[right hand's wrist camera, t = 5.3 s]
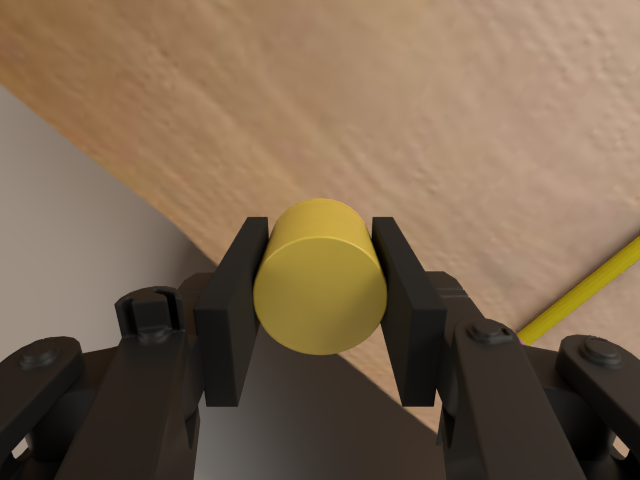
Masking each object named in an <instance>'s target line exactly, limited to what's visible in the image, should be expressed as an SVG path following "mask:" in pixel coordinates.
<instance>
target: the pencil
mask: <svg viewBox="0 0 640 480" xmlns="http://www.w3.org/2000/svg"><path fill="white" fill-rule="evenodd" d="M639 259H640V235H639V236H638V237H637V238H636V239H634V240H633V241H632V242H631V243H629V244H628V245H627V246H626V247H624V248H623V249H622V250H621V251H619V252H618V253H617V254H616V255H614V256H613V257H612V258H611V259H609V260H608V261H607V262H606V263H604V264H603V265H602V266H601V267H600V268H598V269H597V270H596V271H595V272H593V273H592V274H591V275H590V276H588V277H587V278H586V279H585V280H583V281H582V282H581V283H580V284H578V285H577V286H576V287H575V288H573V289H572V290H571V291H570V292H568V293H567V294H566V295H565V296H563V297H562V298H561V299H560V300H558V301H557V302H556V303H555V304H553V305H552V306H551V307H550V308H548V309H547V310H546V311H545V312H543V313H542V314H541V315H540V316H538V317H537V318H536V319H535V320H533V321H532V322H531V323H530V324H528V325H527V326H526V327H525V328H523V329H522V330H521V331H520V332H518V333H517V334H516V335H517V337H518V338H519V340H520V342H521V344H523V345H527V346H529V345H531V344H532V343H533V342H534V341H536V340H537V339H538V338H540V337H541V336H542V335H543V334H545V333H546V332H547V331H548V330H550V329H551V328H552V327H554V326H555V325H556V324H557V323H559V322H560V321H561V320H563V319H564V318H565V317H566V316H568V315H569V314H570V313H571V312H573V311H574V310H575V309H577V308H578V307H579V306H580V305H582V304H583V303H584V302H585V301H587V300H588V299H589V298H591V297H592V296H593V295H594V294H596V293H597V292H598V291H600V290H601V289H602V288H603V287H605V286H606V285H607V284H608V283H610V282H611V281H612V280H614V279H615V278H616V277H617V276H619V275H620V274H621V273H622V272H624V271H625V270H626V269H628V268H629V267H630V266H631V265H633V264H634V263H635V262H637V261H638V260H639Z"/></svg>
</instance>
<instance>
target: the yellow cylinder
mask: <svg viewBox="0 0 640 480" xmlns="http://www.w3.org/2000/svg"><path fill="white" fill-rule="evenodd" d="M387 299H388V288H387V283H386V279H385V276H384V273H383V271H382V268H381V265H380V262H379V259H378V257H377V254H376V251H375V248H374V245H373V243H372V240H371V237H370V234H369V232H368V229H367V226H366V225H365V223H364V221H363V220H362V218H361V217H360V216H359V215H358V214H357V213H356V212H355V211H354V210H353V209H351V208H350V207H348V206H347V205H345V204H343V203H341V202H338V201H335V200H331V199H310V200H306V201H302V202H300V203H297V204H295V205H294V206H292V207H290V208H289V209H288V210H286V211H285V212H284V213H283V214H282V215H281V216H280V218H279V219H278V220H277V222H276V224H275V225H274V227H273V230H272V233H271V235H270V238H269V241H268V244H267V246H266V249H265V252H264V255H263V258H262V260H261V263H260V266H259V269H258V272H257V274H256V277H255V280H254V285H253V305H254V310H255V312H256V315H257V318H258V319H259V321H260V323H261V325H262V326H263V328H264V329H265V330H266V331H267V332H268V334H269V335H270V336H271V337H273V338H274V339H275V340H276V341H277V342H279V343H281V344H282V345H284V346H286V347H288V348H290V349H292V350H295V351H298V352H302V353H306V354H313V355H327V354H334V353H339V352H342V351H345V350H348V349H350V348H353V347H355V346H357V345H358V344H360V343H361V342H363V341H364V340H365V339H367V338H368V337H369V336H370V335H371V334H372V333H373V332H374V331H375V329H376V328H377V327H378V325H379V324H380V322H381V320H382V318H383V316H384V313H385V311H386V307H387Z"/></svg>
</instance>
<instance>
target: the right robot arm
mask: <svg viewBox="0 0 640 480" xmlns="http://www.w3.org/2000/svg"><path fill="white" fill-rule="evenodd" d="M371 240H372V243H373V245H374V248H375V251H376V254H377V257H378V259H379V262H380V265H381V268H382V271H383V273H384V276H385V279H386V283H387V288H388V299H387V307H386V311H385V313H384V316H383V318H382V320H381V322H380V324H381V327H382V331H383V335H384V339H385V343H386V346H387V350H388V354H389V358H390V361H391V365H392V369H393V373H394V377H395V380H396V384H397V388H398V392H399V395H400V399H401V403H402V407H434V401H435V394H436V388H437V391H438V393H439V396H440V398H441V401H442V409H441V416H440V422H439V429H438V436H437V442H436V445H439V446H441V443H443V452H444V460H445V469H446V477H447V480H640V360H639V359H638V358H636V357H635V356H634V355H633V354H631V353H630V352H628V351H627V350H625V349H623V348H622V347H620V346H619V345H616V344H614V343H612V342H609V341H608V340H606V339H603V338H599V337H598V338H597V337H595V336H590V335H588V336H587V335H571V336H567V337H565V338H564V339H563V340H562V341H561V344H560V348H559V351H558V352H556V351H551V350H546V349H541V348H536V347H531V346H527V345H523V344H521V342H520V340H519V338H518V337H517V335H516V334H515V333H514V332H513V330H511V329H510V328H508V327H507V326H505V325H504V324H502V323H499V322H496V321H494V320H491V319H486V318H485V317H484V316H483V315H482V313H481V312H480V311H479V309H478V308H477V307H476V305H475V304H474V303H473V301H472V300H471V299H470V298H468V295H467V293H466V292H465V290H463V288H462V286H461V285H460V284H459V282H458V281H457V280H456V279H455V278H453V277H452V276H450V275H449V274H447V273H445V272H444V271H425V270H424V269H423V267H422V265H421V264H420V262H419V260H418V259H417V257H416V255H415V254H414V252H413V250H412V249H411V247H410V245H409V244H408V242H407V240H406V239H405V237H404V235H403V234H402V232H401V230H400V229H399V227H398V225H397V224H396V222H395V220H394V219H393V217H373V220H372V239H371ZM268 241H269V233H268V217H247V219H246V221H245V222H244V224H243V226H242V227H241V229H240V231H239V232H238V234H237V236H236V237H235V239H234V241H233V243H232V244H231V246H230V248H229V249H228V251H227V253H226V254H225V256H224V258H223V259H222V261H221V263H220V264H219V266H218V268H217V269H216V271H215V273H195V274H194V275H192V276H191V277H189V278H187V279H186V280H184V282H183V283H182V284H181V286H180V287H179V288H178V290H177V289H175V288H172V287H167V286H154V287H148V288H142V289H139V290H136V291H133V292H130V293H129V294H127V295H125V296H123V297H121V298H120V299H119V300H118V301H117V302H116V303H115V304H114V305H115V309H116V313H117V318H118V322H119V327H120V331H121V335H122V339H121V341H120V343H119V345H118V346H116V347H112V348H108V349H103V350H98V351H93V352H88V353H82V350H81V346H80V343H79V342H78V341H77V340H76V339H74V338H71V337H65V336H62V337H49V338H45V339H41V340H37V341H35V342H33V343H31V344H29V345H27V346H24V347H22V348H20V349H19V350H17V351H16V352H14V353H12V354H11V355H10V356H8V357H7V358H6V359H4V360H3V361H2V362H1V363H0V480H193V478H194V470H195V461H196V452H197V444H198V435H199V427H200V416H199V409H198V403H199V401H200V398H201V396H202V393H203V391H204V392H205V399H206V406H207V407H238V404H239V400H240V397H241V393H242V389H243V385H244V381H245V377H246V374H247V370H248V366H249V362H250V359H251V355H252V351H253V347H254V344H255V340H256V336H257V332H258V328H259V325H260V321H259V319H258V318H257V315H256V312H255V310H254V305H253V285H254V280H255V277H256V274H257V272H258V269H259V266H260V263H261V260H262V258H263V255H264V252H265V249H266V246H267V244H268ZM616 435H617V436H618V437H619V438H620V439H621V441H622V442H623V443H624V444H625V445H626V446H627V447H628V448H629V449H630V450H629V453H628V455H627V457H626V458H625V457H624V456H622V455H621V454H620V453H619V452H618V451H617V450H616V448H615V447H614V446H613V443H614V440H615V438H616ZM24 437H25V439H26V442H27V444H28V448H27V449H26V450H25V451H24V452H23V453H22V454H21V455H20V456H19V457H18V458H16V459H15V458H14V457H13V454H12V452H11V451H12V450H13V449H14V448H15V447H16V446H17V445H18V444H19V443H20V442H21V440H22V439H23V438H24Z"/></svg>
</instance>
